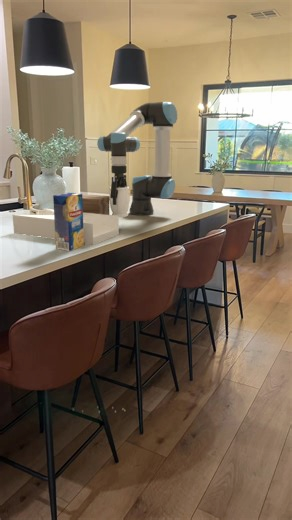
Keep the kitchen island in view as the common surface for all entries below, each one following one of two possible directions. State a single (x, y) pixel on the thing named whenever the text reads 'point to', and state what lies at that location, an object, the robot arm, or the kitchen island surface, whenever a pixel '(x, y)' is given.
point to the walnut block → (96, 204)
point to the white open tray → (44, 225)
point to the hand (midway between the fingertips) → (119, 209)
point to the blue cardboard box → (68, 221)
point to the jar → (121, 201)
